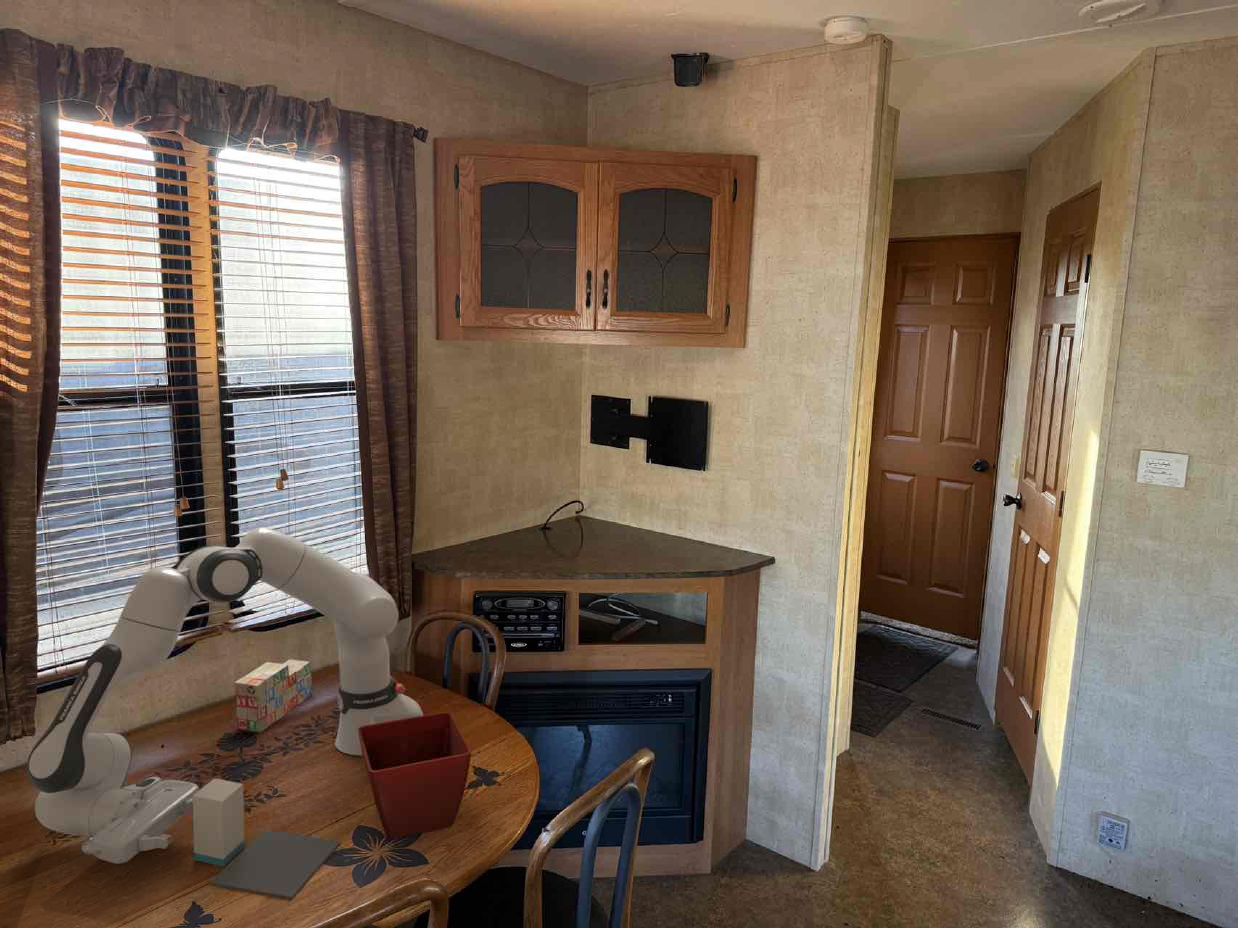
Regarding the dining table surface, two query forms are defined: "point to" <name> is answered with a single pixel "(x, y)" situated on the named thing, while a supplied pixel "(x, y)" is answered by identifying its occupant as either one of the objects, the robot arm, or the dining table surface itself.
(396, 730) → the plant pot
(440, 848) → the dining table surface
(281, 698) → the stack of blocks
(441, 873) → the dining table surface
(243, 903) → the dining table surface
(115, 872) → the dining table surface
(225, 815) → the cream block
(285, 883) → the mat
